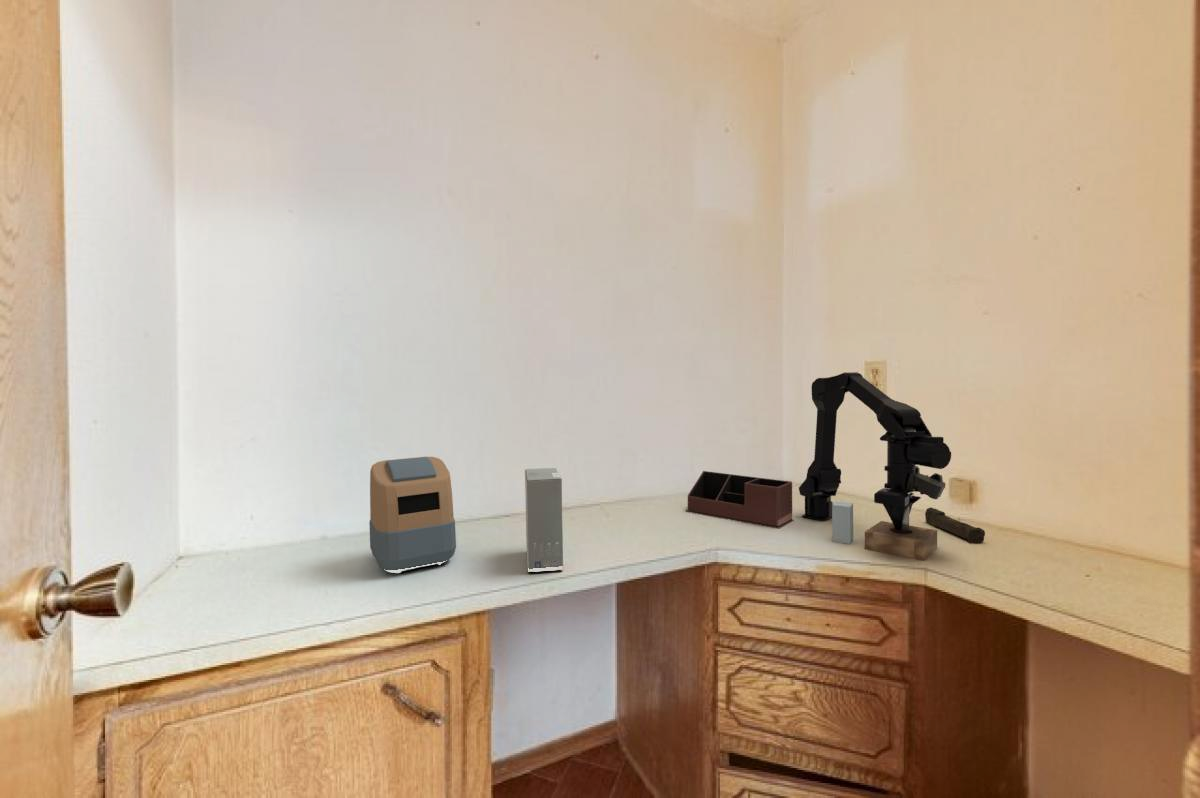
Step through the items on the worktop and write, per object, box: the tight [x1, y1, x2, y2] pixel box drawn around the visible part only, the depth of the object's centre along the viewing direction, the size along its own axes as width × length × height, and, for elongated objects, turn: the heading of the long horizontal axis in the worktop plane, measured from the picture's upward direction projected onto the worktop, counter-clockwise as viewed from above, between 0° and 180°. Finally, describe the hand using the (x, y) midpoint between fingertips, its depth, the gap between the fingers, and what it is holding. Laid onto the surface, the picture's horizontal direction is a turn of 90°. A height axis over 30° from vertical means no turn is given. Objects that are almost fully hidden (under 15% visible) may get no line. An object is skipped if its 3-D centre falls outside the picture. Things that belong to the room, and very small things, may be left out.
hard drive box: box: [524, 467, 564, 569], centre depth 118 cm, size 16×8×20 cm, turn 9°
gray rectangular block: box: [831, 501, 854, 545], centre depth 129 cm, size 4×4×9 cm
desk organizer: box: [685, 470, 795, 530], centre depth 153 cm, size 10×29×11 cm, turn 48°
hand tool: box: [924, 507, 986, 544], centre depth 134 cm, size 19×4×5 cm, turn 179°
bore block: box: [864, 520, 938, 561], centre depth 123 cm, size 12×12×4 cm
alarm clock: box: [369, 456, 457, 570], centre depth 119 cm, size 17×17×23 cm
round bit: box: [893, 507, 910, 534], centre depth 123 cm, size 3×3×9 cm
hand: (900, 528), depth 123 cm, fingers closed on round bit, 3 cm apart
